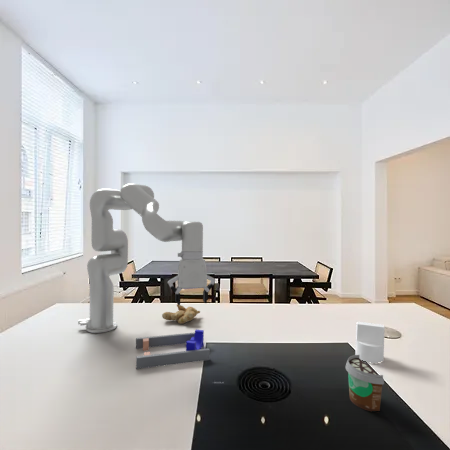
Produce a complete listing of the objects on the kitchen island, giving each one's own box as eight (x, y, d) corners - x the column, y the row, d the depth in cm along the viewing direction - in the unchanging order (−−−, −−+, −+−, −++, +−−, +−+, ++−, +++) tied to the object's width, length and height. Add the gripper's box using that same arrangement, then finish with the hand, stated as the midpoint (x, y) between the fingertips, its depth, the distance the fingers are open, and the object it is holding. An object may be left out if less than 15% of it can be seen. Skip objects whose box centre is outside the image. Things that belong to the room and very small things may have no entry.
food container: (336, 388, 87) (337, 354, 86) (357, 387, 87) (358, 353, 87) (359, 416, 74) (360, 376, 74) (383, 415, 75) (384, 376, 75)
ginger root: (208, 316, 144) (205, 300, 142) (187, 334, 131) (184, 317, 130) (183, 311, 153) (180, 296, 151) (161, 327, 140) (158, 312, 138)
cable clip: (192, 344, 115) (192, 329, 115) (203, 345, 114) (203, 330, 114) (181, 359, 103) (182, 341, 103) (194, 360, 102) (194, 343, 102)
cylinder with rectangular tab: (381, 354, 109) (382, 321, 109) (385, 366, 101) (386, 330, 100) (354, 350, 112) (355, 318, 112) (356, 361, 104) (357, 326, 103)
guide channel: (136, 369, 95) (136, 358, 95) (135, 347, 111) (135, 338, 111) (209, 359, 102) (209, 349, 102) (199, 340, 118) (199, 332, 118)
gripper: (169, 257, 102) (168, 308, 102) (218, 256, 107) (217, 304, 107) (166, 255, 109) (166, 302, 109) (212, 254, 114) (212, 298, 114)
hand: (191, 303), depth 108 cm, fingers open, 9 cm apart
